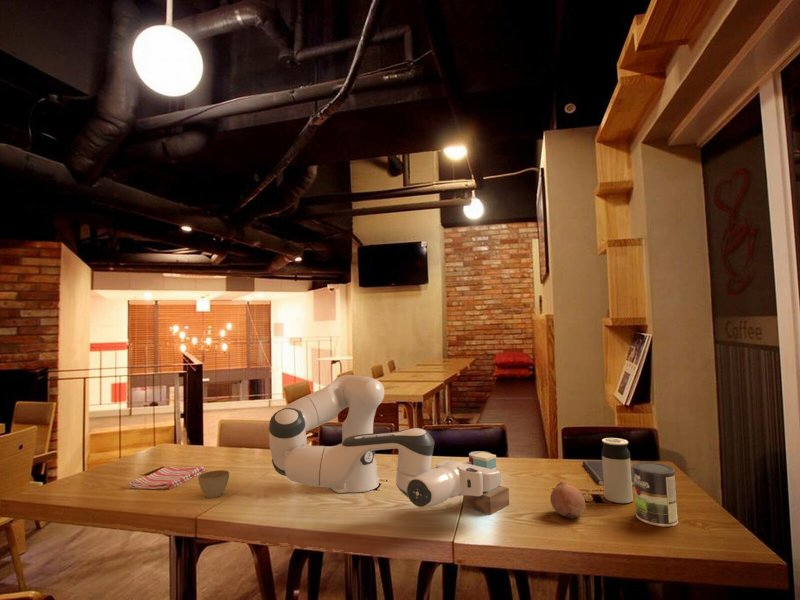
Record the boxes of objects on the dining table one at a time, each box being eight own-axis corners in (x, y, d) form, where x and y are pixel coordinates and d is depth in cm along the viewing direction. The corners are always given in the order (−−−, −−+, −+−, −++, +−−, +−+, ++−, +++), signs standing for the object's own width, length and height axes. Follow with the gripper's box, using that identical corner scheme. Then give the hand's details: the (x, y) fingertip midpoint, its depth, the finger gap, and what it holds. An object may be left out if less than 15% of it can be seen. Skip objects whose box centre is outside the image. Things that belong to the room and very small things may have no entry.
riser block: (463, 505, 136) (462, 489, 137) (482, 496, 143) (481, 481, 144) (490, 514, 129) (490, 497, 129) (509, 504, 136) (508, 488, 136)
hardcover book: (626, 467, 171) (625, 461, 171) (649, 488, 148) (648, 480, 148) (582, 466, 173) (582, 460, 174) (598, 486, 151) (598, 479, 151)
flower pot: (235, 491, 155) (235, 470, 156) (215, 502, 146) (215, 480, 146) (212, 489, 158) (212, 468, 159) (191, 499, 149) (191, 477, 149)
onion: (559, 521, 130) (549, 485, 135) (592, 516, 127) (580, 479, 132) (553, 521, 122) (543, 483, 128) (587, 516, 119) (576, 476, 124)
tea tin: (473, 489, 137) (472, 455, 137) (483, 484, 140) (482, 452, 141) (487, 492, 133) (486, 458, 134) (497, 488, 136) (496, 455, 137)
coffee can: (651, 528, 117) (647, 474, 118) (628, 512, 128) (625, 462, 129) (687, 525, 118) (683, 471, 119) (662, 510, 128) (658, 461, 130)
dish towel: (127, 490, 161) (127, 480, 161) (170, 470, 184) (170, 462, 184) (169, 491, 158) (169, 481, 159) (207, 471, 181) (207, 462, 182)
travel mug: (605, 502, 135) (602, 442, 137) (603, 493, 143) (600, 437, 144) (634, 505, 133) (630, 444, 134) (631, 496, 140) (627, 438, 142)
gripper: (428, 481, 133) (456, 470, 143) (484, 498, 119) (511, 484, 129) (427, 460, 134) (455, 450, 143) (483, 474, 119) (510, 462, 129)
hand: (482, 466), depth 136 cm, fingers open, 8 cm apart
